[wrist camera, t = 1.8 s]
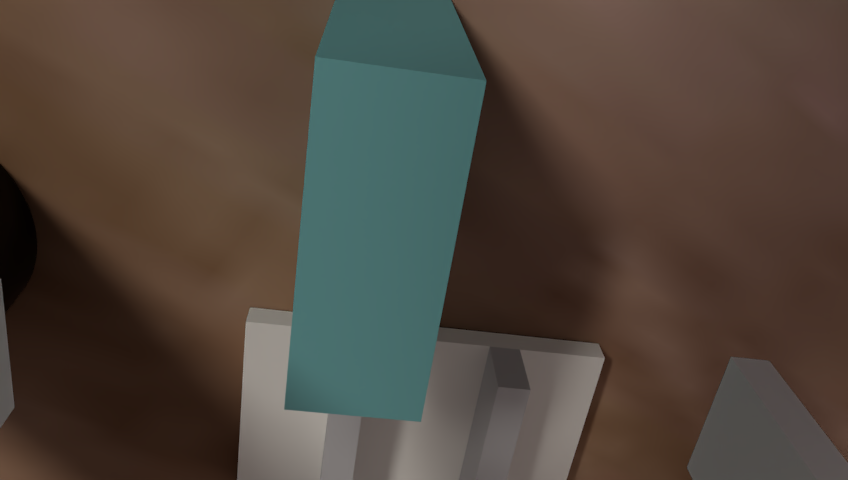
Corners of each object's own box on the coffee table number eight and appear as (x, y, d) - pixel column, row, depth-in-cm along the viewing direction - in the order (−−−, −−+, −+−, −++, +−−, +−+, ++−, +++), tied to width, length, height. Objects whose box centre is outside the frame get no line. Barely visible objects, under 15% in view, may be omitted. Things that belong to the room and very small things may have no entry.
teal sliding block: (341, -19, 24) (315, 56, 15) (450, -2, 24) (486, 80, 16) (316, 232, 28) (284, 409, 19) (410, 243, 28) (420, 422, 19)
